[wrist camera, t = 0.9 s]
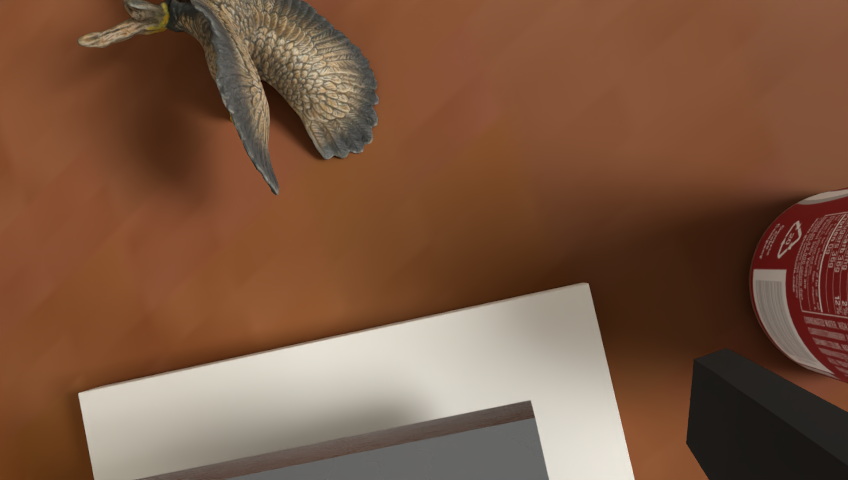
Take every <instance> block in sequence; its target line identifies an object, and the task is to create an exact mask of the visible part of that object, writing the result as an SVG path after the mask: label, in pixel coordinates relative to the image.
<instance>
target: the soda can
mask: <svg viewBox="0 0 848 480" xmlns="http://www.w3.org/2000/svg"><path fill="white" fill-rule="evenodd" d="M749 293H750V299H751V303H752V307H753V310H754V313H755V316H756V318H757V320H758V322H759V325H760V326H761V328H762V330H763V331H764V333H765V334H766V336H767V337H768V338H769V340H770V341H771V342H772V343H773V344H774V345H775V347H776V348H777V349H778V350H780V351H781V352H782V353H783V354H784V355H785V356H787V357H788V358H789V359H791V360H792V361H794V362H795V363H797V364H799V365H800V366H802V367H804V368H806V369H808V370H811V371H813V372H816V373H819V374H822V375H825V376H828V377H831V378H834V379H837V380H840V381H843V382H846V383H848V188H843V189H839V190H834V191H830V192H825V193H821V194H817V195H814V196H811V197H808V198H806V199H804V200H801V201H799V202H798V203H796V204H794V205H792V206H791V207H789V208H788V209H786V210H785V211H784V212H783V213H781V214H780V215H779V216H778V217H777V218H776V219H775V220H774V221H773V222H772V223H771V224H770V225H769V227H768V228H767V229H766V230H765V232H764V233H763V235H762V237H761V238H760V240H759V242H758V244H757V246H756V249H755V251H754V254H753V257H752V261H751V265H750V271H749Z"/></svg>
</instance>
